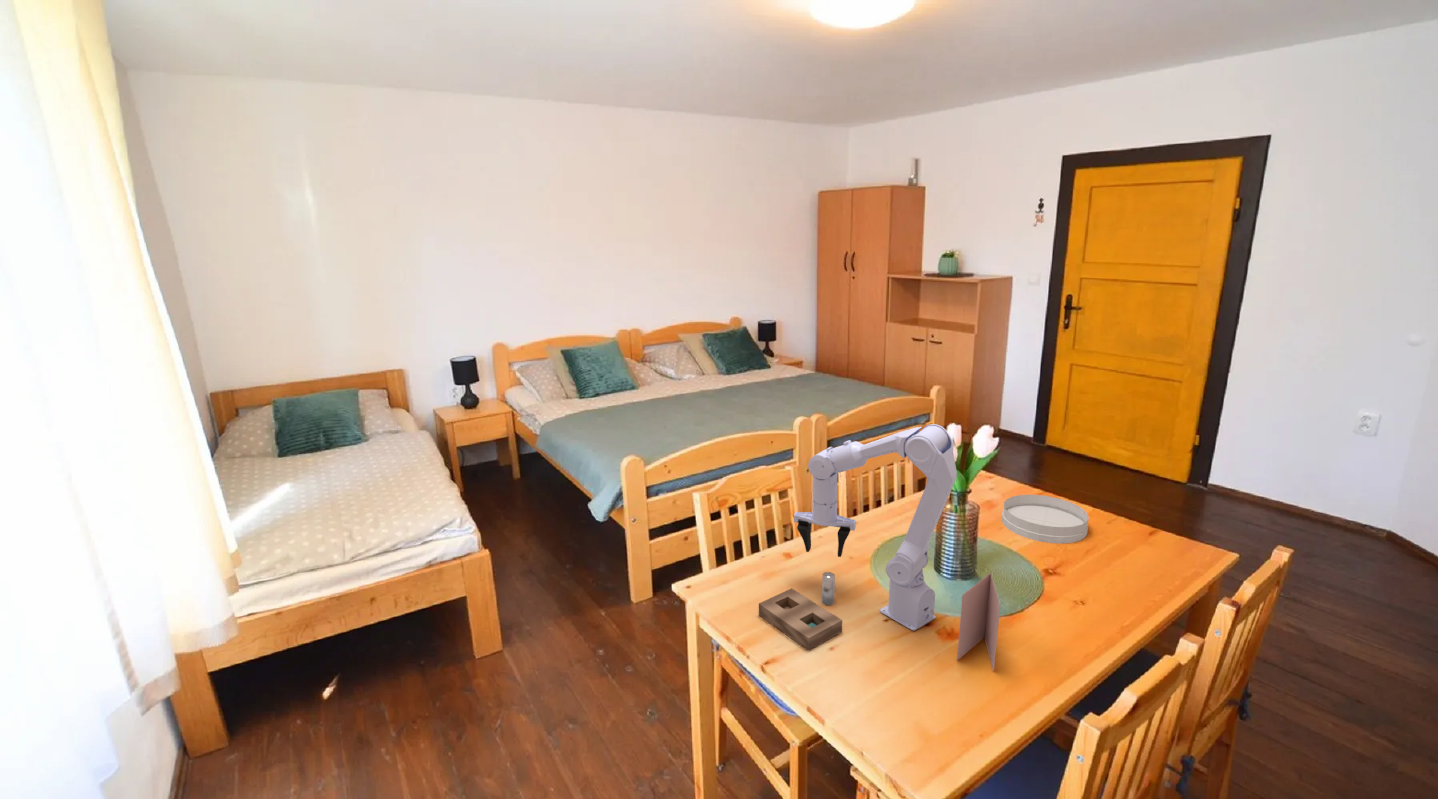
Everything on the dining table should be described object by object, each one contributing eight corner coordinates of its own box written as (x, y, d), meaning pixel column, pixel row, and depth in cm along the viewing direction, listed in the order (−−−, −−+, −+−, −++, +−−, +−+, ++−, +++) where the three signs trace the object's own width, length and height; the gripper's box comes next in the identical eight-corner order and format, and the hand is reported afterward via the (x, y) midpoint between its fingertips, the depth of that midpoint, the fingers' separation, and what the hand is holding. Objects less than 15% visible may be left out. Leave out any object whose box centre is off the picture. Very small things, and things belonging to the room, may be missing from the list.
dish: (1089, 519, 187) (1091, 503, 186) (1084, 551, 169) (1087, 534, 168) (1007, 504, 199) (1009, 489, 198) (994, 532, 181) (996, 516, 180)
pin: (836, 602, 149) (837, 575, 147) (828, 606, 148) (828, 579, 146) (827, 597, 151) (828, 570, 150) (819, 601, 150) (819, 574, 148)
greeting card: (980, 634, 136) (986, 571, 132) (1015, 650, 131) (1022, 585, 127) (952, 658, 129) (958, 592, 125) (988, 677, 124) (995, 608, 120)
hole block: (841, 632, 138) (842, 620, 138) (808, 650, 133) (808, 638, 132) (791, 599, 151) (791, 588, 150) (758, 615, 145) (758, 603, 144)
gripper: (858, 497, 151) (857, 549, 155) (799, 490, 157) (798, 540, 160) (853, 509, 145) (852, 563, 149) (791, 501, 150) (791, 553, 154)
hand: (824, 552), depth 154 cm, fingers open, 7 cm apart
